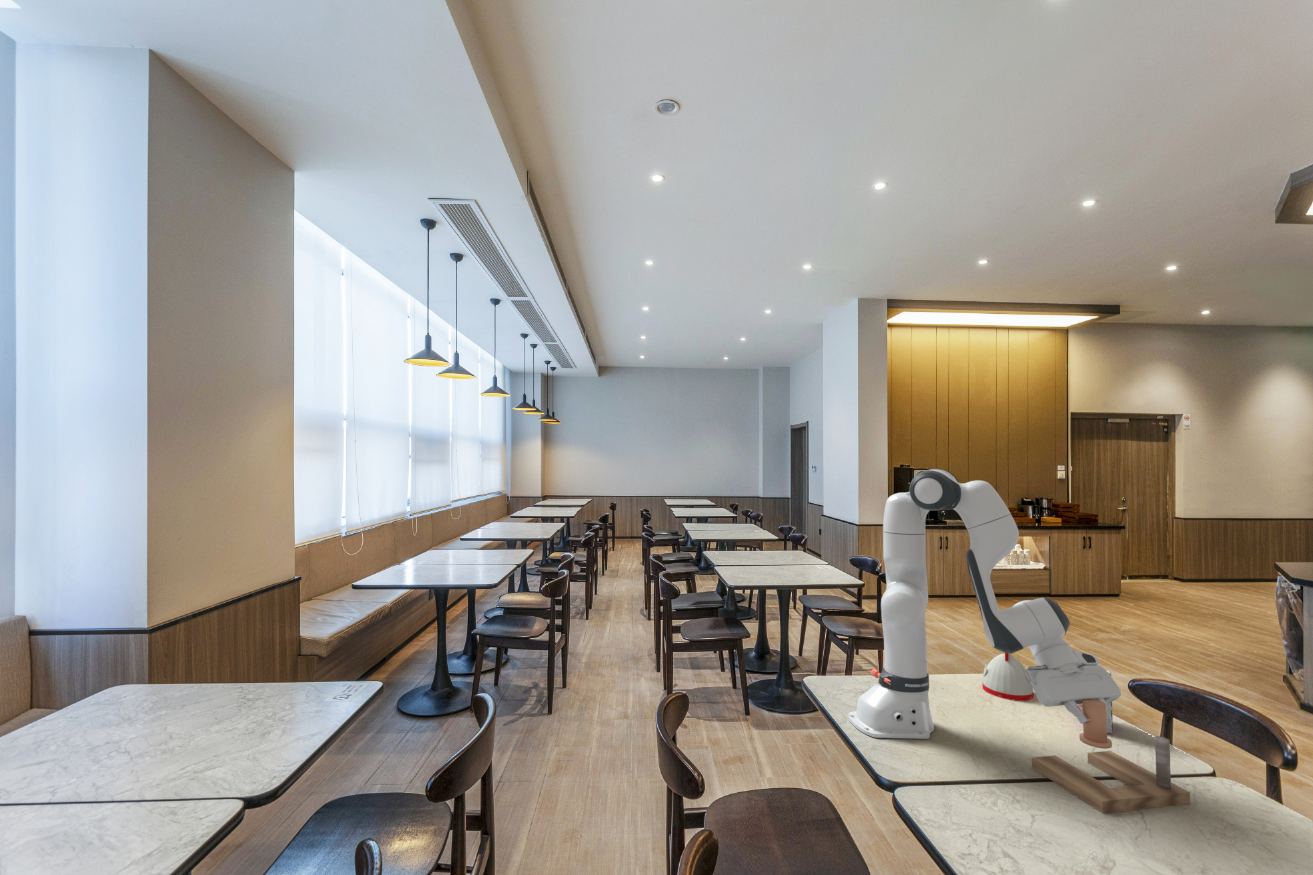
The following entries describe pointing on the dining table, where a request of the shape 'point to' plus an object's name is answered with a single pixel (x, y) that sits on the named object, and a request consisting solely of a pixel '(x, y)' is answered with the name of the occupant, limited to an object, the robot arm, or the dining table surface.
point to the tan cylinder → (1095, 724)
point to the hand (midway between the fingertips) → (1097, 721)
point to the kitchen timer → (1007, 679)
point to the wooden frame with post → (1141, 782)
